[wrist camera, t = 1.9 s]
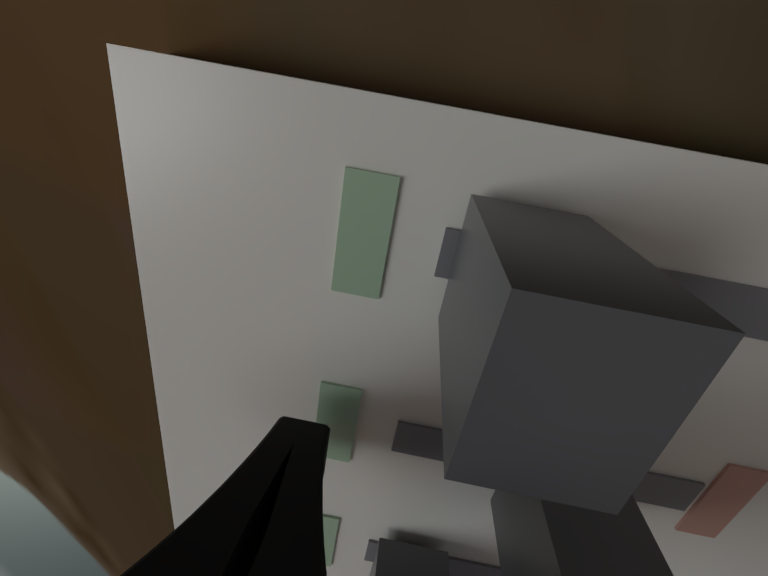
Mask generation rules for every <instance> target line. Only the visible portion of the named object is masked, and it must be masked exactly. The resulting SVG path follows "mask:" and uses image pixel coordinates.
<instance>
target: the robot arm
mask: <svg viewBox="0 0 768 576" xmlns="http://www.w3.org/2000/svg"><path fill="white" fill-rule="evenodd" d="M329 435H330V428H329V427H328V425H326V424H321V423H316V422H311V421H306V420H301V419H296V418H291V417H286V416H282V417H280V418H279V419H278V420H277V422H276V423H275V424H274V426H273V427H272V428H271V430H270V431H269V432H268V433H267V435H266V436H265V437H264V438H263V440H262V441H261V442H260V443H259V444H258V445H257V447H256V448H255V449H254V450H253V451H252V452H251V454H250V455H249V456H248V457H247V458H246V459H245V460H244V461H243V462H242V464H241V465H240V466H239V467H238V468H237V469H236V470H235V471H234V472H233V473H232V474H231V475H230V477H229V478H228V479H227V480H226V481H225V482H224V483H223V484H222V485H221V486H220V487H219V488H218V489H217V490H216V491H215V492H214V493H213V494H212V495H211V496H210V497H209V498H208V499H207V500H206V501H205V502H204V503H203V504H202V505H201V506H200V507H199V508H198V509H197V510H196V511H195V512H194V513H192V514H191V515H190V516H189V517H188V518H187V519H186V520H185V521H184V522H183V523H182V524H181V525H179V526H178V527H177V528H176V529H175V530H174V531H173V532H172V533H171V534H169V535H168V536H167V537H166V538H165V539H164V540H163V541H161V542H160V543H159V544H158V545H157V546H156V547H154V548H153V549H152V550H151V551H150V552H149V553H147V554H146V555H145V556H144V557H143V558H141V559H140V560H139V561H138V562H136V563H135V564H134V565H133V566H131V567H130V568H129V569H128V570H127V571H125V572H124V573H123V574H122V575H120V576H327V571H326V560H325V547H324V530H323V476H324V471H325V464H326V457H327V450H328V442H329Z"/></svg>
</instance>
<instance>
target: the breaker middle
mask: <svg viewBox="0 0 768 576" xmlns="http://www.w3.org/2000/svg"><path fill="white" fill-rule="evenodd" d="M490 502H491V508H492V515H493V522H494V528H495V535H496V542H497V548H498V555H499V562H500V569H501V575H502V576H674V575H673V573H672V571H671V569H670V567H669V565H668V564H667V562H666V560H665V558H664V556H663V554H662V552H661V550H660V548H659V546H658V544H657V542H656V540H655V538H654V536H653V534H652V532H651V530H650V528H649V526H648V524H647V522H646V520H645V518H644V516H643V515H642V513H641V511H640V509H639V507H638V505H637V503H636V501H635V499H634V497H633V495H631V496H630V498H629V499H628V501H627V502H626V504H625V505H624V506H623V508H622V509H621V511H620V512H619V513H618V515H615V514H610V513H606V512H601V511H596V510H591V509H586V508H581V507H577V506H572V505H567V504H562V503H557V502H552V501H548V500H543V499H538V498H533V497H528V496H523V495H519V494H514V493H509V492H504V491H499V490H495V491H494V493H493V496H492V498H491V500H490Z"/></svg>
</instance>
